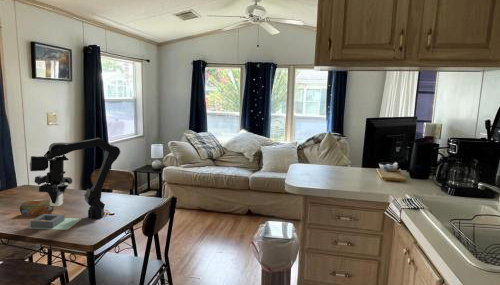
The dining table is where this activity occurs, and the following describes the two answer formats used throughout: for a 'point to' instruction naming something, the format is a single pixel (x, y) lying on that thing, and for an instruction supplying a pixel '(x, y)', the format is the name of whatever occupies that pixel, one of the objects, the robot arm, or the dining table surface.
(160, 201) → the dining table surface
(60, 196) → the plug
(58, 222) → the grey flat square frame
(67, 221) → the circuit board
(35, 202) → the tin
